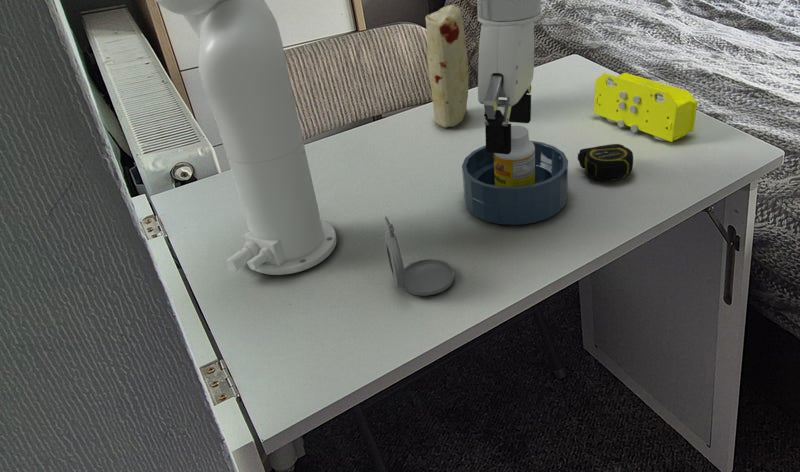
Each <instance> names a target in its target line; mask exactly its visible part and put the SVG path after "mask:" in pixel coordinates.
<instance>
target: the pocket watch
mask: <svg viewBox="0 0 800 472" xmlns="http://www.w3.org/2000/svg"><path fill="white" fill-rule="evenodd" d="M384 220H385V223H386V225H387V232H385V233H384V241H385V249H386V255H387V259H388V264H389V268H390V272H391V276H392V279H393V282H394V285H395V287H397V288H403V290H404V291H406V292H407V293H410V294H412V295H416V296H432V295H438V294H439V293H442V292H444V291H446V290H447V289H448V288H449V287H451V285H452V284H453V282H454V280H455V271H454V268H453V267H452V265H450V264H449V263H448V262H447V261H444V260H442V259H436V258H423V259H418V260H415V261H413V262H411V263H409V264H407V265H406V266H405V267H404V260H403V257H402V256H403V255H402V251H401V247H400V244H399V241H398V238H397V235H396V234H395V226H394V225H393V224H392V223H391V222H390V221H389V219H388V217H387V216H384Z"/></svg>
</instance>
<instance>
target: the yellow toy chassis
mask: <svg viewBox="0 0 800 472" xmlns="http://www.w3.org/2000/svg"><path fill="white" fill-rule="evenodd" d="M593 100H594V101H593V114H595V115H598V116H601V117H603V118H606V121H607V122H609V123H612V124H617V126H618V127H619V128H623V127H625V126H628V127H630V131H631V132H632V133H636V132H638V131H641V132H643V133H646V134H649V135H652V136H653V138H654V139H655V140H657V141H661V142H662V141H663V142H666V141H667V142H670V143H673V142H674V141H676V140H678V139H680V138H683V137H684V136H687V135H688V134H689V132H690V133H694V130H695V123H696V117H697V115H696V114H697V110H698V109H697V108H698V101H697V100H696V99H695V98H694V96H693V95H692V94H691V92H689V90H686V89H683V88H680V87H676V86H673V85H669V84H665V83H663V82H659V81H655V80H652V79H648V78H645V77H642V76H638V75H635V74H631V73H628V72H623V73H621V74H619V75H617V76H616V75H614V74H611V73H607V72H604V73H603V74H601V75H600V76H598V77H597V78H595V80H594V98H593Z"/></svg>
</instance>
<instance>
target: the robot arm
mask: <svg viewBox="0 0 800 472" xmlns="http://www.w3.org/2000/svg"><path fill="white" fill-rule="evenodd" d="M154 1H155V2H156V3H157V4H159V5H160V6H161V7H162V8H164V9H166V10H167V11H169V12H171V13H174V14H176V15H182V16H183V17H184V19H185V21H186V22H187V23H188V24H189V26H190V27H191V29H192V30H193V31H194V33H195V34H196V36H197V38H198V39H199V41H198V46H197V66H198V67H197V68H198V74H199V77H200V81H201V84H202V87H203V90H204V94H205V96H206V99H207V101H208V103H209V106H210V108H211V112H212V114H213V117H214V119H215V123H216V126H217V128H218V129H217V130H218V131H219V135H220V139H221V142H222V145H223V148H224V152H225V155H226V157H227V161H228V164H229V168H230V170H231V175H232V178H233V181H234V184H235V186H236V188H235V189H236V191H237V194H238V198H239V201H240V204H241V209H242V211H243V215H244V218H245V221H246V225H247V228H248V231H246V232H244V233H243V239H244V242H245V243H244V244H242V245H241V249H240V250H239V251H238V252H235V253H233V254H232V255H231V256H229V258H227V259H225V263H224V264H225V266H226V267H227V269H228V270H229V271H231V272H233V273H237V272H238V271H239V270H240V269H241V268H243V267H244V266H246V265H247V266H248V268H249V269H250V270H251V271H255V272H257V273H261V274H264V275H271V276H284V275H291V274H295V273H300V272H304V271H306V270H309V269H311V268H313V267H315V266H318V265H319V264H320V263H322V262H324V261H325V260H326V259H327V258H328V257H329V256H331V254H332V252H334V250H335V247H336V246H337V240H338V239H337V235H336V231H335V228H334V227H333V226H332V225H331V223H329V222H328V221H326V220H324V219H321V215H320V210H319V207H318V206H319V205H318V202H317V197H316V192H315V187H314V183H313V178H312V173H311V170H310V165H309V161H308V157H307V151H306V148H305V143H304V138H303V134H302V130H301V125H300V120H299V116H298V112H297V107H296V102H295V98H294V93H293V88H292V83H291V79H290V72H289V68H288V63H287V57H286V54H285V49H284V44H283V39H282V37H281V31H280V29H279V25H278V21H277V20H276V18H275V16H274V14H273V12H272V11H271V9H270V7H269V6H268V4H267V2H266V1H265V0H154ZM476 5H477V6H476V7H477V8H476V9H477V12H476V13H477V21H478V23H481V25H480V34H479V41H478V43H479V44H478V46H479V47H478V59H477V60H478V62H477V63H478V65H477V66H478V67H477V101H478V102H479V104H480V105H483V108H484V114H483V117H484V127H485V128H484V130H485V131H484V132H485V133H484V134H485V145H486V151H487V152H489V153H498V154H510V152H511V126H512V123H518V124H529V123H530V122H531V121H532V94H531V92H532V82H533V79H534V73H535V22H536V21H538V20H539V19H540V18H541V16H542V0H476ZM499 98H502V99H499ZM503 98H505V99H503ZM498 108H503V113H502V111H501V109H498Z"/></svg>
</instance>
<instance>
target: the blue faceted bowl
mask: <svg viewBox="0 0 800 472" xmlns="http://www.w3.org/2000/svg"><path fill="white" fill-rule="evenodd" d="M530 141H531V142H533V144H534V146H535V184H534V185H528V186H520V187H499V186H495V176H494V154H493V153H489V152H487V151H486V144H485V145H483V146H480V147H478V148H477V149H474V150H473V151H471V153H469V154H468V155H467V156H466V157H465V158H464V160H463V162H462V165H461V172H462V173H461V174H462V185H463V186H462V187H463V199H464V202H465V203H464V204H465V207H466V209H467V210H468V211H469V212H470V213H471V214H472V215H473V216H475V217H477V218H479V219H481V220H482V221H485V222H489V223H492V224H498V225H511V226H516V225H517V226H519V225H528V224H534V223H538V222H541V221H545V220H547V219H550V218H551V217H553V216H554V215H556V214H558V213H559V212H560V211H561V210H562V209H563V208H564V207H565V205H567V200H568V184H569V183H568V182H569V181H568V179H569V159H568V157H567V156H566V154H565V152H563V151H562V150H560V149H559V148H557V147H556V146H554V145H551V144H548V143H545V142H542V141H536V140H535V141H534V140H530Z"/></svg>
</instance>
